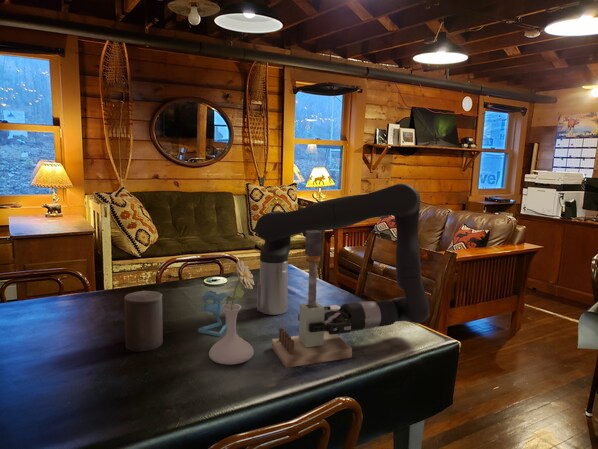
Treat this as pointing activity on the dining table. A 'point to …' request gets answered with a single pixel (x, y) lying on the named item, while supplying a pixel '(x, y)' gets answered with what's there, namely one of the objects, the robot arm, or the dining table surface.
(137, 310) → the pillar candle
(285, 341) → the post
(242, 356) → the flower in vase
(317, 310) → the square hollow tube
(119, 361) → the dining table surface
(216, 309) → the chair
